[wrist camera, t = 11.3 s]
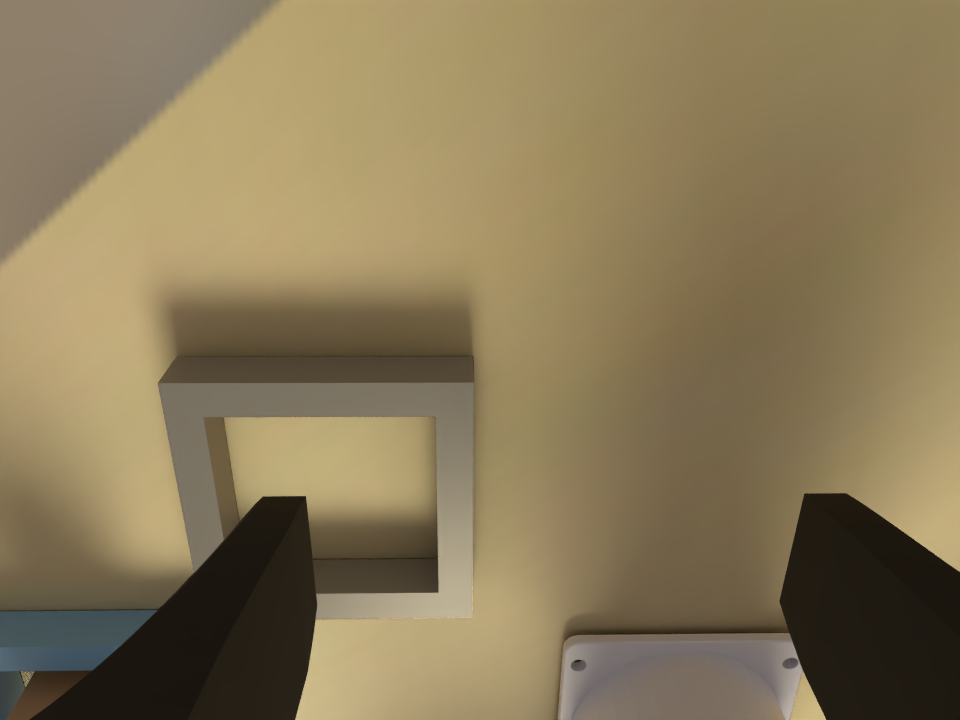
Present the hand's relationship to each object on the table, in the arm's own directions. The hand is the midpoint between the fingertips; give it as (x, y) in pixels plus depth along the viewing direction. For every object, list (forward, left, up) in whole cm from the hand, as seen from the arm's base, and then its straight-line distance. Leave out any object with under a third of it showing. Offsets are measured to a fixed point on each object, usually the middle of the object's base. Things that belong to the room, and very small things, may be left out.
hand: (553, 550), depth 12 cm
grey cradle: (-6, +5, -10) cm, 13 cm away
